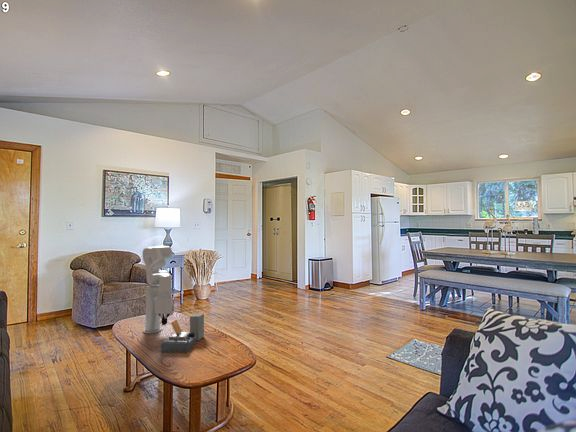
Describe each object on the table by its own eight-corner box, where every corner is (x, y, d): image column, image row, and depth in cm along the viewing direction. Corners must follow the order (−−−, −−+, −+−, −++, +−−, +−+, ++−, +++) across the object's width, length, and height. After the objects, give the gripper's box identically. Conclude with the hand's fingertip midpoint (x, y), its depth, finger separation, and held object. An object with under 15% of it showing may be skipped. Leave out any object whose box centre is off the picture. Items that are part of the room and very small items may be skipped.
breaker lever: (179, 332, 191) (174, 320, 191) (182, 331, 191) (176, 319, 191) (176, 335, 186) (170, 323, 186) (178, 334, 186) (173, 322, 186)
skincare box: (198, 341, 198) (199, 316, 199) (188, 340, 200) (189, 316, 200) (204, 336, 206) (205, 313, 207) (194, 335, 208) (195, 312, 208)
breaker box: (171, 341, 196) (172, 329, 197) (196, 342, 196) (196, 329, 196) (160, 352, 180) (161, 338, 181) (187, 352, 180) (187, 339, 180)
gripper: (150, 295, 186) (149, 326, 185) (174, 296, 185) (173, 326, 185) (156, 293, 193) (155, 322, 192) (179, 293, 193) (178, 322, 192)
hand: (164, 324), depth 189 cm, fingers closed
